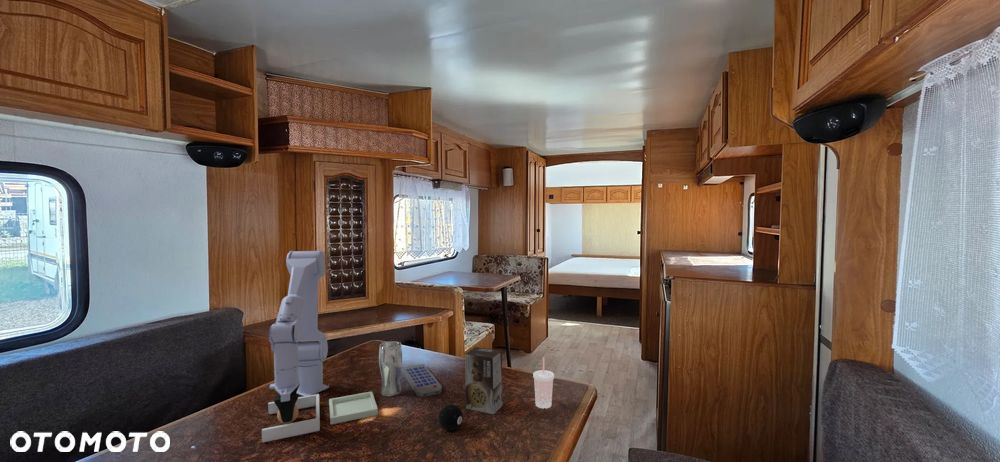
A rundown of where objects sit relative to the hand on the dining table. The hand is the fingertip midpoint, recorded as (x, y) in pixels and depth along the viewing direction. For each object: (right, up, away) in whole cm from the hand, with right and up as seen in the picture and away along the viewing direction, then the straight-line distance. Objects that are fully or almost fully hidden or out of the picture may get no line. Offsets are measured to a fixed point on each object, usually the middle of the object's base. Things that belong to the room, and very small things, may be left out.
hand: (288, 416), depth 107 cm
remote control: (+30, -1, +26) cm, 40 cm away
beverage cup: (+69, -1, +10) cm, 70 cm away
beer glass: (+23, -1, +18) cm, 29 cm away
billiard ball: (+44, -2, -3) cm, 44 cm away
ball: (0, -2, 0) cm, 2 cm away
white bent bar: (+1, -2, +1) cm, 2 cm away
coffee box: (+52, -1, +8) cm, 53 cm away
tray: (+15, -1, +7) cm, 16 cm away
